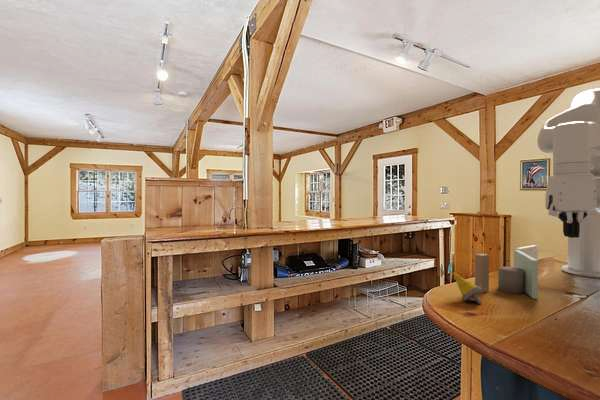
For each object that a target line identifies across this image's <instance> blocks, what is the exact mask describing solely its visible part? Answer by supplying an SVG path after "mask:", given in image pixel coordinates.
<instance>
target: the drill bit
mask: <svg viewBox="0 0 600 400" xmlns="http://www.w3.org/2000/svg"><path fill="white" fill-rule="evenodd" d="M452 274H453V277H454V279H455V282H456V285H457V287H458V289H459V291H460V294H461V299H462V301H464V302H466V301H468V300H469V299H471V298H472V299H473V300H474V301H475V303H477V304H480V305H482V304H483V303H482V301H481V300H480V298H479V296H478V295H477V294H478V293H480V292H479V291H481V290H482V288H481V287H480V286H476V285H475V283H472V282H471V281H469V280H467V279H466V278H465V277H462V276H461V275H459V274H458V273H456V272H454V271H453V272H452Z"/></svg>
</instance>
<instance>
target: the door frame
mask: <svg viewBox="0 0 600 400" xmlns="http://www.w3.org/2000/svg"><path fill="white" fill-rule="evenodd" d="M515 249H517V250H520V251H522V252H523V253H525V254H527V255H529V256H531V257H532V258H534V259H536V260H538V261H539V259H538V255H539V254H538V253H539V252H538V249H539V247H538V245H535V244H533V245H526V246H520V247H516V248H515ZM489 268H490V256H489V254H488V253H476V254H474V285H476V286H480V287H481V288H482V290H481V291H479V292H478V293H480V294H484V293H483V292H485V293H489V292H490V286H489V285H490V274H489V273H490V272H489V271H490V269H489ZM488 291H489V292H488Z"/></svg>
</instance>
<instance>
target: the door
mask: <svg viewBox="0 0 600 400" xmlns="http://www.w3.org/2000/svg"><path fill="white" fill-rule="evenodd" d="M513 253H514V254H513V267H515V268H520V269H522V270H524V293H525V294H527V295H528V296H529V297H530V298H532V299H538V298H539V297H538V296H539V259H538V260H536V259H534V258H532V257H531V256H529V255H527V254H525V253H523V252H522V251H520V250H517V249H516V248H515V249H514V250H513Z"/></svg>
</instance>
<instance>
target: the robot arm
mask: <svg viewBox="0 0 600 400" xmlns="http://www.w3.org/2000/svg"><path fill="white" fill-rule="evenodd" d="M536 143H537V147H538V149H539V150H540V151H541V152H542V153H547V154H548V153H549V154H552V175H549V177H548V180H547V184H546V189H545V190H546V191H545V199H544V200H545V205H544V207H545V209H546V210H548V213H547V214H548V216H551V217H556V218H558V219H559V220H560V222H562V234H563V236H564V237H567V264H565V265H561V270H562V271H563V272H565V273H568V274H572V275H576V276H581V277H582V276H583V277H589V278H597V279H600V211H598V210H597V209H600V88H599V87H598V88H595V89H589V90H586V91H583V92H580V93H579V94H577V95H576V96H575V97H574V98H573V99H572V101H571V103H570V106H569V108H568V109H566V110H565V111H563V112H561V113H559V114H557V115H555V116H553V117H551V118H549V119H547V120H546V121H545V122H544V123H543V125H542V127H541V128H540V131H539V132H538V136H537V142H536Z"/></svg>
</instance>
